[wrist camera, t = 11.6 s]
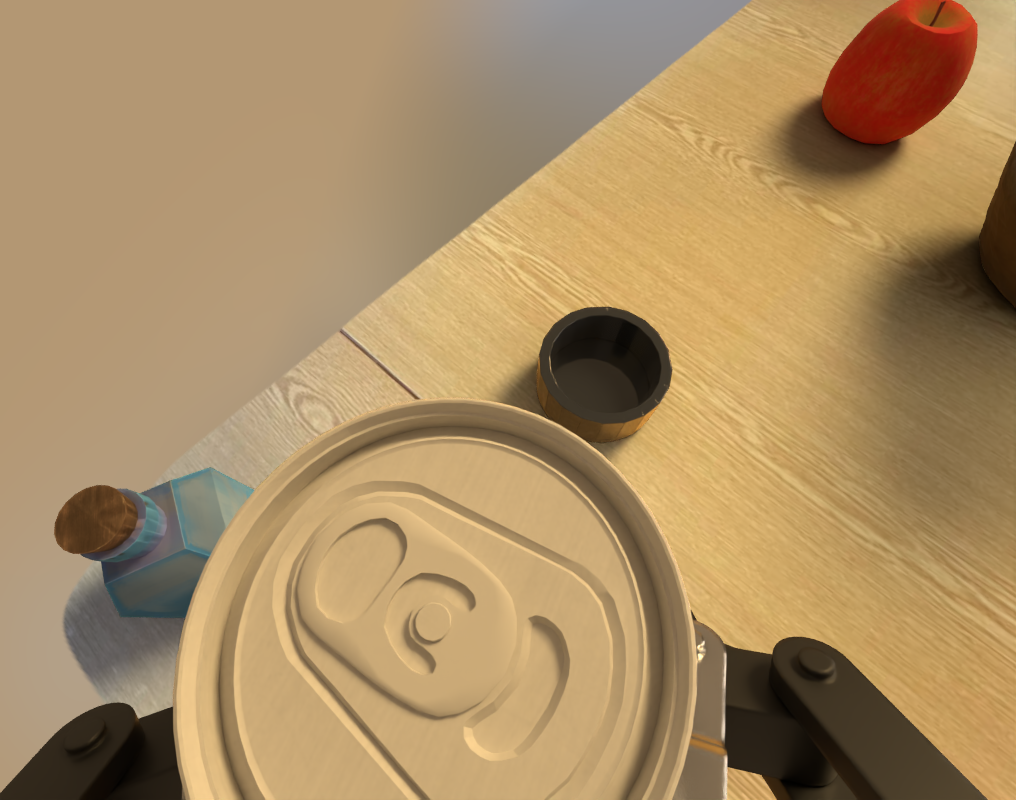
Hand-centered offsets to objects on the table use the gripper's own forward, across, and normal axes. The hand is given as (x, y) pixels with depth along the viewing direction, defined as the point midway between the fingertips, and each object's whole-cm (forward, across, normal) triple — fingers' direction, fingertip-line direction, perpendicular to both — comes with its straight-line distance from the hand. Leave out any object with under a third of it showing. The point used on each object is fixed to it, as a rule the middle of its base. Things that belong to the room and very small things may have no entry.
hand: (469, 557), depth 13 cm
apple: (+46, -42, -15) cm, 64 cm away
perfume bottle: (+19, +18, +13) cm, 29 cm away
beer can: (+4, 0, +7) cm, 8 cm away
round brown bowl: (+26, -9, +5) cm, 28 cm away
